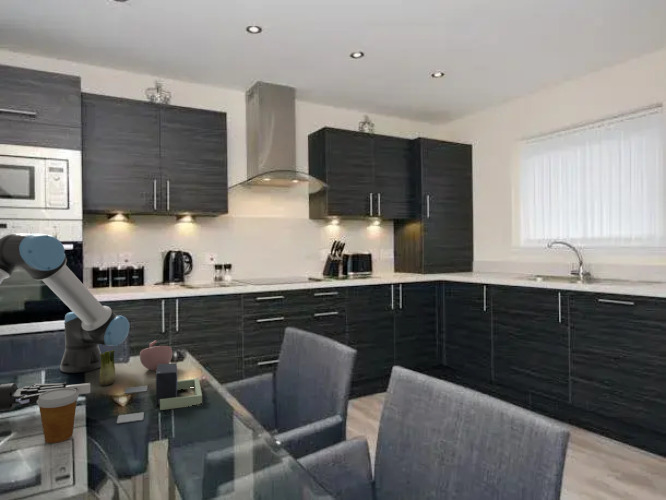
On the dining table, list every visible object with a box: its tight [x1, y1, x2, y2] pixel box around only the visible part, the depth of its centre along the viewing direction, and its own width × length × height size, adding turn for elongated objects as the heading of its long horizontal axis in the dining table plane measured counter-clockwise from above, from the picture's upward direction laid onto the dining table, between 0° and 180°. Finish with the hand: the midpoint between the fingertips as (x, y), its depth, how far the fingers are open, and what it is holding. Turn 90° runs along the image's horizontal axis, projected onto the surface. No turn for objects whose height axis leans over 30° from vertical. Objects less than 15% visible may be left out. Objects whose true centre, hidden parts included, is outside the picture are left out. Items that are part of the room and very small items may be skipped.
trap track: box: [116, 378, 203, 425], centre depth 144 cm, size 30×24×3 cm
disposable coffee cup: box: [36, 388, 80, 444], centre depth 117 cm, size 10×10×12 cm
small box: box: [155, 362, 178, 406], centre depth 145 cm, size 11×6×10 cm, turn 19°
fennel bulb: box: [99, 350, 116, 386], centre depth 158 cm, size 6×5×12 cm
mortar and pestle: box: [139, 340, 173, 371], centre depth 175 cm, size 12×12×12 cm
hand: (89, 388), depth 137 cm, fingers closed
